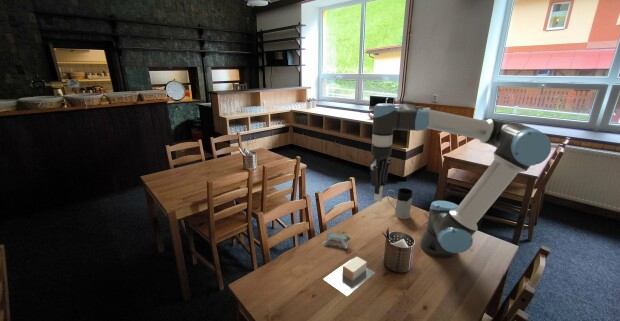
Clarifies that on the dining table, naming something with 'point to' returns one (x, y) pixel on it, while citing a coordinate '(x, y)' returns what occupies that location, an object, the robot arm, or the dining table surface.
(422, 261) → the dining table surface
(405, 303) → the dining table surface
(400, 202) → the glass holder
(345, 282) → the board
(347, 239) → the packaged food
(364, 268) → the block
